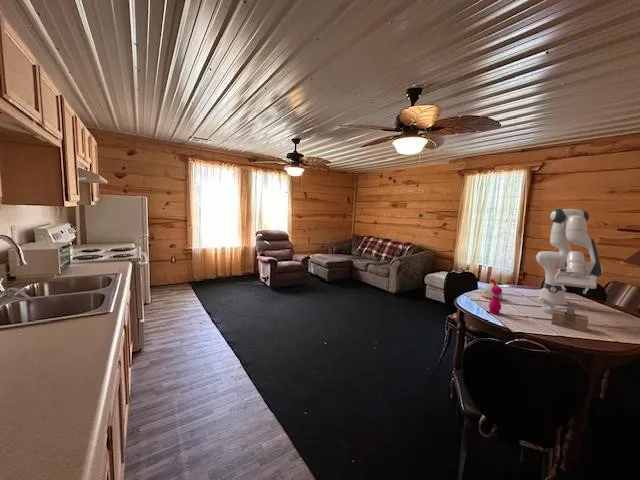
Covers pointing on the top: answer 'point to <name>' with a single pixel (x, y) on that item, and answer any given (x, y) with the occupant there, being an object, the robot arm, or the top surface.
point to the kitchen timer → (489, 290)
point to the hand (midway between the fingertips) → (574, 292)
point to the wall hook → (547, 309)
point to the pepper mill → (495, 300)
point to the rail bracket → (570, 311)
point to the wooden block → (570, 320)
